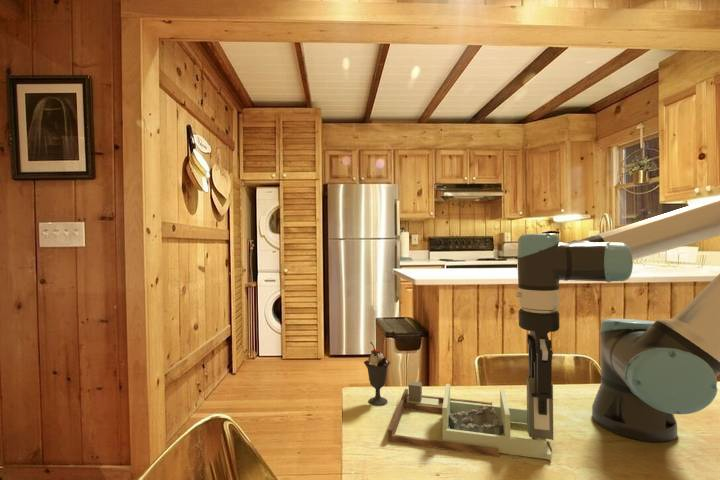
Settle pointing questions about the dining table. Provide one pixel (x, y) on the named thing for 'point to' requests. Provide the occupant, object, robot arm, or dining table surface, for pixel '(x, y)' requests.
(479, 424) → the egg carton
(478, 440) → the sage green shelf unit
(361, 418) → the dining table surface
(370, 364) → the sundae
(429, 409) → the frame
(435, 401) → the broken strip
